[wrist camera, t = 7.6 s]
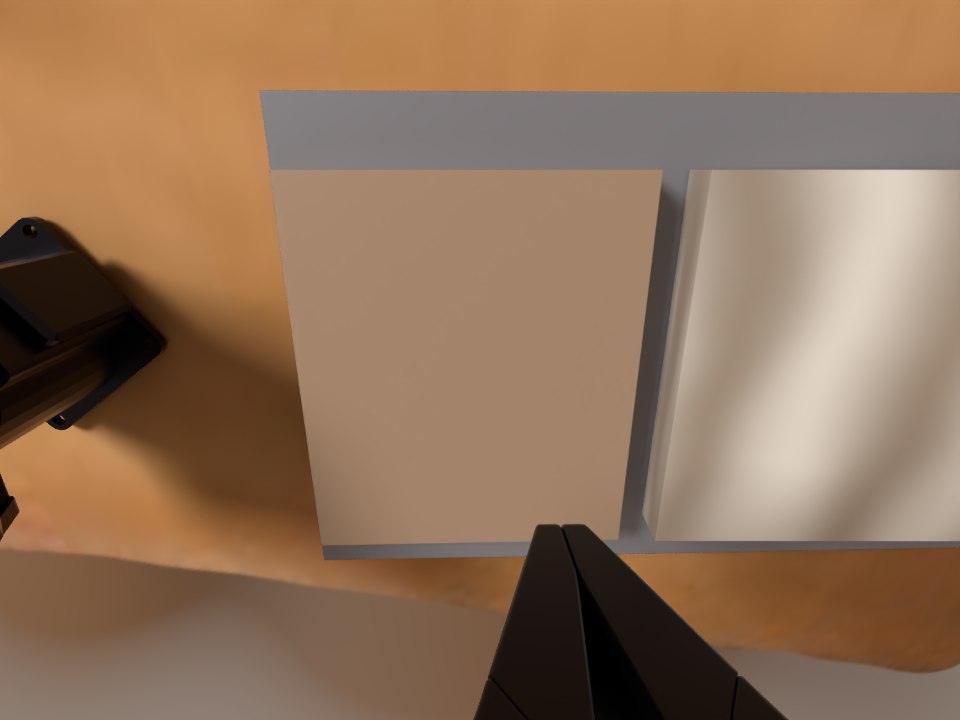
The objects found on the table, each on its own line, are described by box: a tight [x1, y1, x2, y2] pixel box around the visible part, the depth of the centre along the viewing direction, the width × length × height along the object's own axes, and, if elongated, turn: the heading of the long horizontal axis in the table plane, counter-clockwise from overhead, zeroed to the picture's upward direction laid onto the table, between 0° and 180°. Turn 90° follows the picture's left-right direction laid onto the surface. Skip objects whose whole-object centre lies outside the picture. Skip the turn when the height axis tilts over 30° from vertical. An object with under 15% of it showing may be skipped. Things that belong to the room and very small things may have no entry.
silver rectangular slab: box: [642, 170, 960, 541], centre depth 16 cm, size 14×12×2 cm
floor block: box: [259, 90, 960, 560], centre depth 18 cm, size 27×16×6 cm, turn 90°
